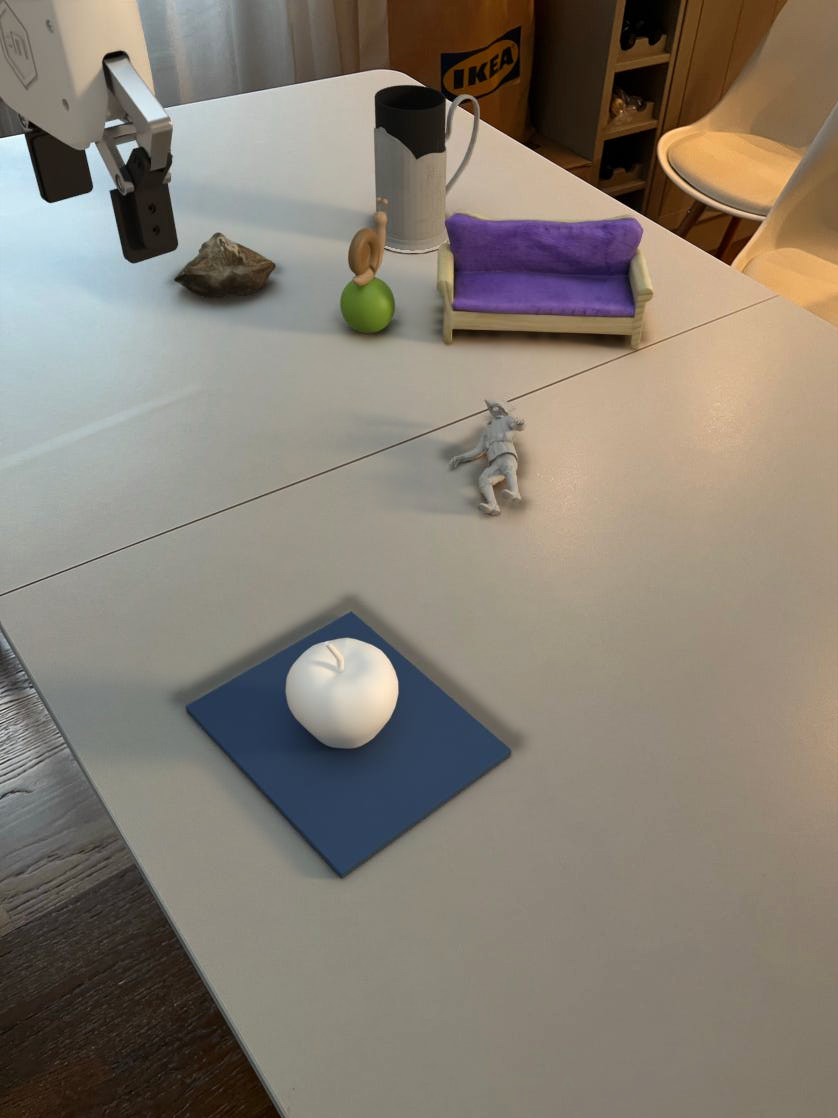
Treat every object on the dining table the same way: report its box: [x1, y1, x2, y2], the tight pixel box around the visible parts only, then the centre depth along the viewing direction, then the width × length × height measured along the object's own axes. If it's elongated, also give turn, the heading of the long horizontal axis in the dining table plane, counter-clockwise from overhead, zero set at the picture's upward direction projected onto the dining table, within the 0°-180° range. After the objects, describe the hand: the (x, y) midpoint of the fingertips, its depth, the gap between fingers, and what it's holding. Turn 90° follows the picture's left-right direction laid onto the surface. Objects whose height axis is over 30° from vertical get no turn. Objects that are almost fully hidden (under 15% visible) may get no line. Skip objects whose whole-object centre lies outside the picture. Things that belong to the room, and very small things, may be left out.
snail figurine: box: [339, 197, 396, 334], centre depth 101 cm, size 5×6×12 cm
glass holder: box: [373, 84, 481, 251], centre depth 115 cm, size 9×14×15 cm, turn 132°
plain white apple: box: [286, 638, 398, 749], centre depth 66 cm, size 7×7×8 cm
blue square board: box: [185, 611, 512, 879], centre depth 69 cm, size 14×17×1 cm
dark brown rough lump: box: [173, 231, 277, 299], centre depth 107 cm, size 8×7×10 cm
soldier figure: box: [448, 397, 527, 516], centre depth 88 cm, size 8×5×12 cm
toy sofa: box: [436, 208, 655, 350], centre depth 103 cm, size 21×9×10 cm, turn 90°
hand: (108, 224), depth 61 cm, fingers open, 9 cm apart
